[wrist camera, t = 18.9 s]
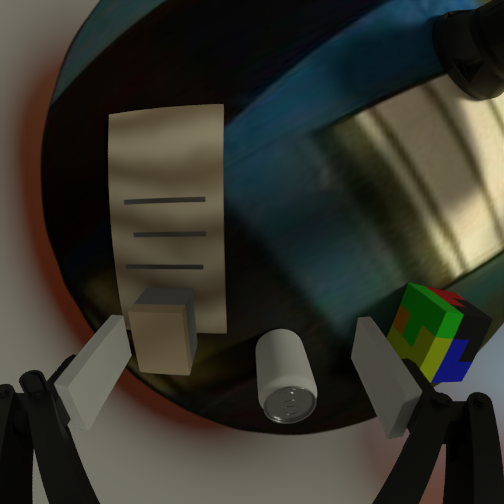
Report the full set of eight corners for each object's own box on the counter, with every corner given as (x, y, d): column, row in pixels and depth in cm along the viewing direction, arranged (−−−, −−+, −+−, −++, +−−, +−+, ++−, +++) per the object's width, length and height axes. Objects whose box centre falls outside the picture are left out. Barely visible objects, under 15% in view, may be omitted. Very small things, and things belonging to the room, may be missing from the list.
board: (112, 116, 32) (109, 114, 31) (223, 106, 32) (223, 104, 31) (127, 325, 39) (125, 329, 38) (226, 329, 39) (226, 333, 38)
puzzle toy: (430, 347, 42) (461, 381, 32) (383, 343, 41) (412, 382, 31) (454, 292, 39) (492, 318, 30) (407, 282, 38) (446, 311, 29)
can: (298, 322, 39) (318, 377, 28) (304, 361, 41) (322, 419, 29) (251, 332, 39) (253, 390, 28) (260, 369, 41) (264, 430, 29)
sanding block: (146, 287, 36) (127, 311, 30) (192, 288, 37) (182, 313, 30) (154, 342, 38) (140, 371, 32) (197, 343, 39) (189, 375, 32)
